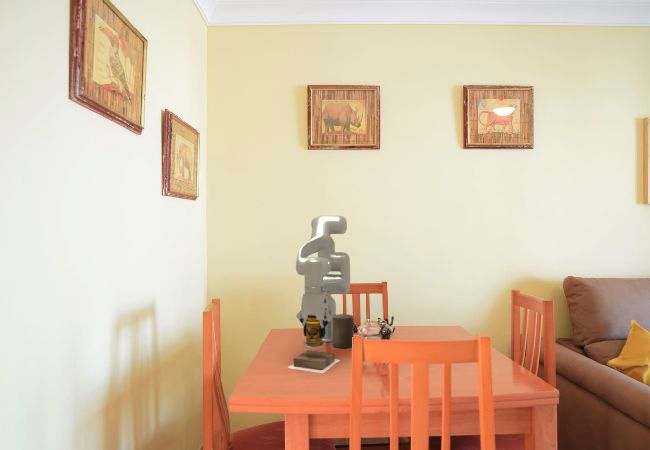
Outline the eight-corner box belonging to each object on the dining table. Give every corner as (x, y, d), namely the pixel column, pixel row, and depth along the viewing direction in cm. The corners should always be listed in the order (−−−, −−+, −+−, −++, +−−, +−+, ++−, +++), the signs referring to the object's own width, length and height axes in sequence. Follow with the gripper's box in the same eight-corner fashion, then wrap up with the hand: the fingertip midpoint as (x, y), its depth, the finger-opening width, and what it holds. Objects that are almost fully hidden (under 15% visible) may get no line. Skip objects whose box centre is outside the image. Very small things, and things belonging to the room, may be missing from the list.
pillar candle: (354, 348, 183) (353, 315, 183) (332, 348, 183) (332, 315, 184) (353, 343, 193) (352, 311, 193) (332, 343, 193) (332, 311, 193)
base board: (307, 357, 170) (307, 355, 170) (340, 361, 164) (340, 359, 164) (287, 369, 155) (287, 367, 155) (322, 375, 149) (322, 373, 149)
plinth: (307, 357, 167) (307, 350, 168) (334, 361, 162) (334, 353, 163) (293, 366, 157) (293, 358, 157) (321, 370, 152) (321, 362, 152)
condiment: (308, 348, 155) (307, 316, 155) (301, 342, 163) (301, 312, 163) (326, 346, 158) (325, 315, 158) (319, 340, 166) (318, 311, 166)
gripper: (338, 290, 160) (338, 336, 160) (299, 288, 167) (299, 332, 167) (330, 293, 153) (330, 341, 153) (290, 290, 160) (290, 336, 160)
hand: (314, 336), depth 160 cm, fingers closed on condiment, 6 cm apart
